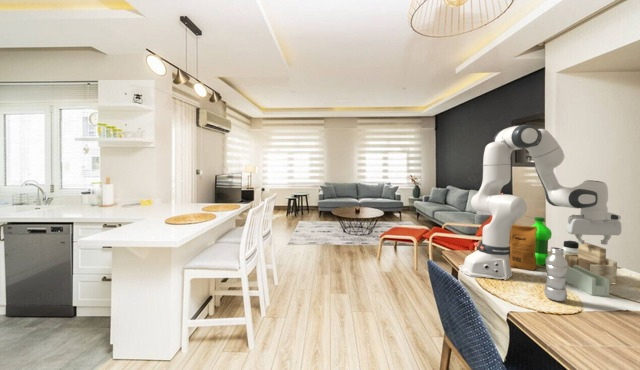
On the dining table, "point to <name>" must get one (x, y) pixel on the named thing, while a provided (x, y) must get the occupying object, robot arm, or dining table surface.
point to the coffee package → (523, 247)
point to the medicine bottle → (570, 247)
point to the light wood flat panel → (592, 253)
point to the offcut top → (574, 259)
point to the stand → (588, 281)
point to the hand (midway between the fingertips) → (592, 243)
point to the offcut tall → (585, 263)
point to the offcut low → (571, 264)
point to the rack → (601, 268)
